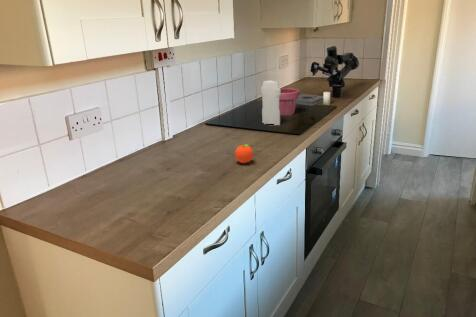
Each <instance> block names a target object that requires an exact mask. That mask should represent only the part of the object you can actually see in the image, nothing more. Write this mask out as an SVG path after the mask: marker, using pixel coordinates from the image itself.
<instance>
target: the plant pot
mask: <svg viewBox="0 0 476 317" xmlns="http://www.w3.org/2000/svg"><path fill="white" fill-rule="evenodd" d="M280 89H281V95H280V97H279V98H280V99H279V110H280V116H292V115H294V114H295V110H296V108H297V104H296V103H297V98H299V95H300V90H299V89H296V88H280Z"/></svg>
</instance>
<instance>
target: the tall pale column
mask: <svg viewBox="0 0 476 317" xmlns="http://www.w3.org/2000/svg"><path fill="white" fill-rule="evenodd" d="M281 89H282V88H280V86H279V81H276V80H275V81H274V80H271V79H270V80H264V81H262V86H261V87H260V95H261V98H262V100H261V101H262V109H261V116H262V117H261V118H262V119H261V120H262V123H264V124H263V125H266V124H274V125H273V126H277V125H278V126H281V115H280V110H279V99H280V98H279V97H280V95H281Z"/></svg>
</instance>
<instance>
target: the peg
mask: <svg viewBox="0 0 476 317" xmlns="http://www.w3.org/2000/svg"><path fill="white" fill-rule="evenodd" d="M322 96H323V102H322V105H324V106H329V105H330V104H331V97H330V96H331V92H330V91H324V92H323V95H322Z"/></svg>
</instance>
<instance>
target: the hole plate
mask: <svg viewBox="0 0 476 317" xmlns="http://www.w3.org/2000/svg"><path fill="white" fill-rule="evenodd" d="M320 103H323V95H315V94H306V93H301V94H299V98H297V103H296V105H304V106H311V107H312V106H315V105H317V104H320Z"/></svg>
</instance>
